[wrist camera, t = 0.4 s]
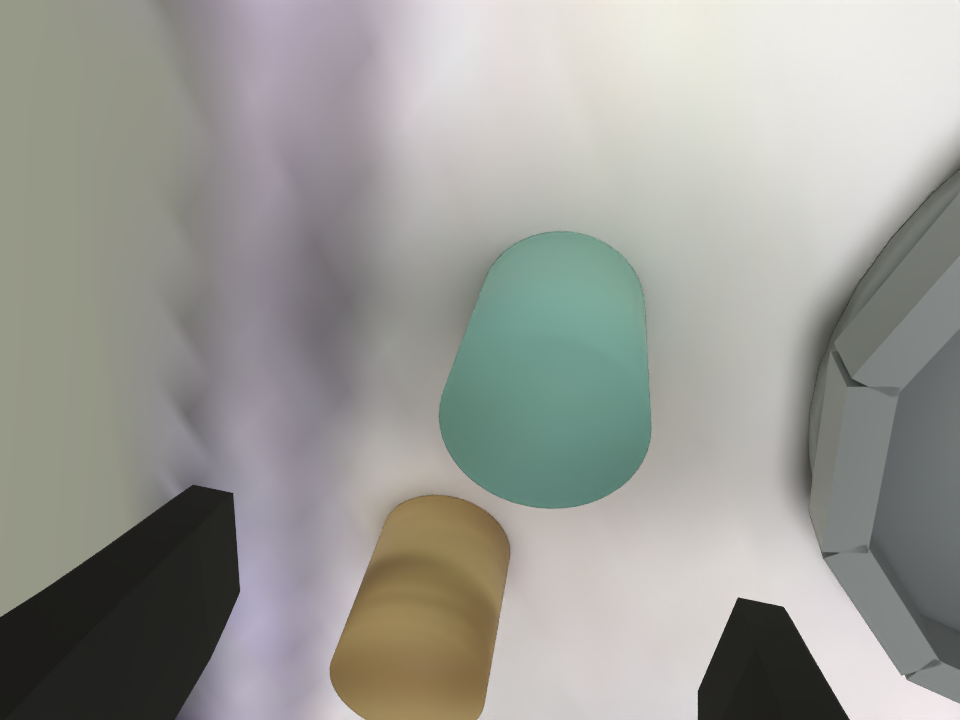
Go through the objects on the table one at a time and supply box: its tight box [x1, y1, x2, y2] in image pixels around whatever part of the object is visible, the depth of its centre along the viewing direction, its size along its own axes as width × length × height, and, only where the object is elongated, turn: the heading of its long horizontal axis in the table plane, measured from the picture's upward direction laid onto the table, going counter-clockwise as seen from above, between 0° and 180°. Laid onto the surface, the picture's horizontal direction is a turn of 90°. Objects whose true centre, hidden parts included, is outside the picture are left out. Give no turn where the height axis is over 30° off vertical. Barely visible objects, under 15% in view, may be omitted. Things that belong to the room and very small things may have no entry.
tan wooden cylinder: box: [330, 495, 510, 720], centre depth 21 cm, size 4×4×5 cm
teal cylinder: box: [439, 231, 651, 509], centre depth 16 cm, size 4×4×5 cm
